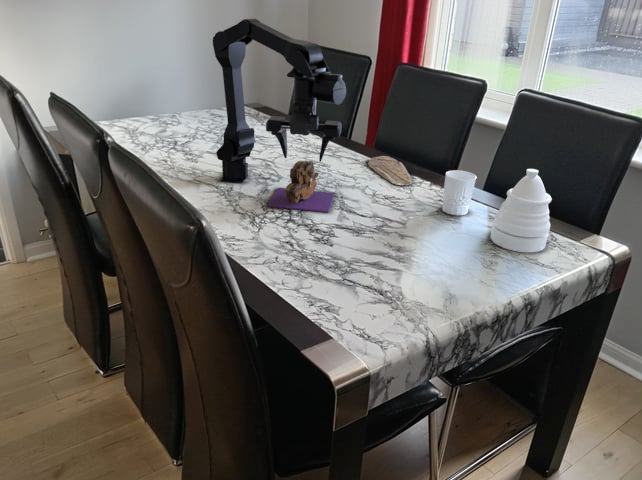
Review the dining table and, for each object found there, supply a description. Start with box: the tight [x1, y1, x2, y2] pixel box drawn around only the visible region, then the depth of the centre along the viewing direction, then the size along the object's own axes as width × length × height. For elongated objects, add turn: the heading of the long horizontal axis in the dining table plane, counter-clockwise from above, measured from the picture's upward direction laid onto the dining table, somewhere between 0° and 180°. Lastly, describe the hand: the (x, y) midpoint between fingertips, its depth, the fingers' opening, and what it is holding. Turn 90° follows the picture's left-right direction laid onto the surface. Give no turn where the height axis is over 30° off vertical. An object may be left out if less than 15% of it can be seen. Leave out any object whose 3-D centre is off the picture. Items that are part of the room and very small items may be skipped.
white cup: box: [441, 169, 477, 216], centre depth 152 cm, size 8×8×10 cm
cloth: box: [267, 187, 335, 214], centre depth 156 cm, size 16×14×1 cm
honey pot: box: [490, 168, 553, 253], centre depth 135 cm, size 13×13×18 cm
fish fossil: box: [367, 155, 413, 186], centre depth 181 cm, size 26×10×1 cm, turn 18°
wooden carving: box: [285, 160, 320, 203], centre depth 153 cm, size 16×5×10 cm, turn 161°
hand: (303, 159), depth 151 cm, fingers open, 9 cm apart
